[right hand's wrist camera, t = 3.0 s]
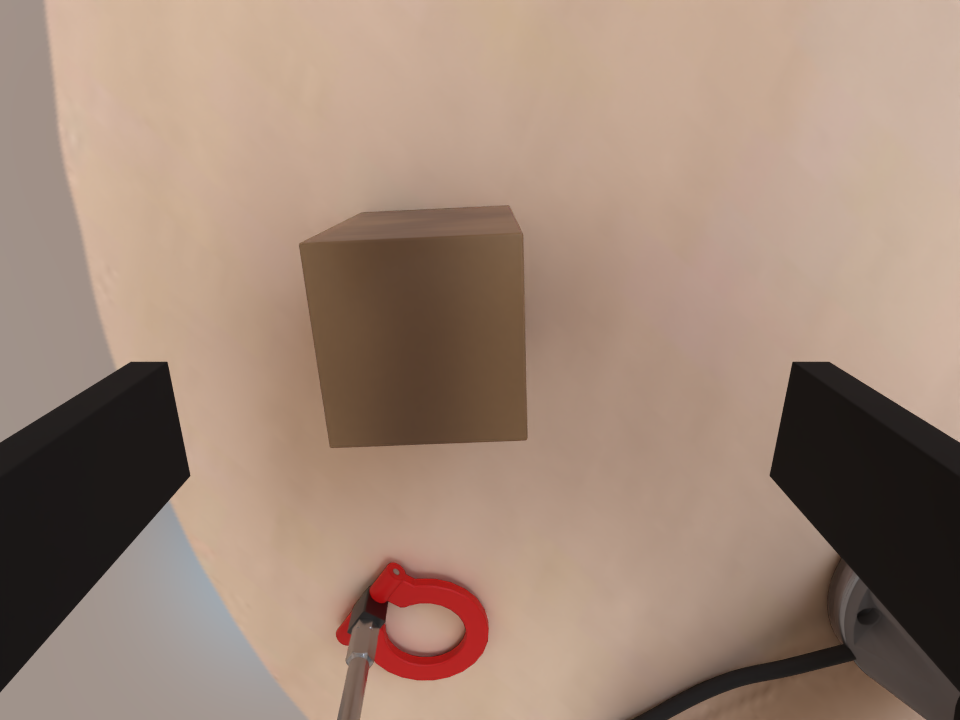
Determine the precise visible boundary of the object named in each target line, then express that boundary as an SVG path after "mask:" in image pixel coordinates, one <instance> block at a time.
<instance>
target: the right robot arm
mask: <svg viewBox="0 0 960 720" xmlns="http://www.w3.org/2000/svg"><path fill="white" fill-rule="evenodd" d="M189 477H190V471H189V467H188V462H187V457H186V452H185V447H184V442H183V437H182V432H181V427H180V422H179V417H178V412H177V407H176V402H175V397H174V392H173V387H172V382H171V377H170V372H169V367H168V363H167V362H130V363H128V364H127V365H125V366H123V367H122V368H120V369H119V370H117V371H115V372H114V373H112V374H110V375H109V376H107V377H106V378H104V379H102V380H101V381H99V382H98V383H96V384H94V385H93V386H91V387H89V388H88V389H86V390H85V391H83V392H81V393H80V394H78V395H76V396H75V397H73V398H72V399H70V400H68V401H67V402H65V403H64V404H62V405H60V406H59V407H57V408H56V409H54V410H52V411H51V412H49V413H47V414H46V415H44V416H43V417H41V418H39V419H38V420H36V421H34V422H33V423H31V424H30V425H28V426H26V427H25V428H23V429H22V430H20V431H18V432H17V433H15V434H13V435H12V436H10V437H9V438H7V439H5V440H4V441H2V442H0V692H1V691H2V690H3V689H4V687H5V686H6V685H7V684H8V683H9V682H10V681H11V679H12V678H13V677H14V676H15V675H16V674H17V673H18V672H19V670H20V669H21V668H22V667H23V666H24V665H25V664H26V662H27V661H28V660H29V659H30V658H31V657H32V656H33V654H34V653H35V652H36V651H37V650H38V649H39V648H40V646H41V645H42V644H43V643H44V642H45V641H46V640H47V638H48V637H49V636H50V635H51V634H52V633H53V632H54V630H55V629H56V628H57V627H58V626H59V625H60V624H61V623H62V621H63V620H64V619H65V618H66V617H67V616H68V615H69V613H70V612H71V611H72V610H73V609H74V608H75V607H76V605H77V604H78V603H79V602H80V601H81V600H82V599H83V597H84V596H85V595H86V594H87V593H88V592H89V591H90V589H91V588H92V587H93V586H94V585H95V584H96V583H97V581H98V580H99V579H100V578H101V577H102V576H103V575H104V574H105V572H106V571H107V570H108V569H109V568H110V567H111V566H112V564H113V563H114V562H115V561H116V560H117V559H118V558H119V556H120V555H121V554H122V553H123V552H124V551H125V550H126V548H127V547H128V546H129V545H130V544H131V543H132V542H133V540H134V539H135V538H136V537H137V536H138V535H139V534H140V532H141V531H142V530H143V529H144V528H145V527H146V526H147V525H148V523H149V522H150V521H151V520H152V519H153V518H154V517H155V515H156V514H157V513H158V512H159V511H160V510H161V509H162V508H163V506H164V505H165V504H166V503H167V502H168V501H169V500H170V498H171V497H172V496H173V495H174V494H175V493H176V492H177V490H178V489H179V488H180V487H181V486H182V485H183V484H184V482H185V481H186V480H187V479H188V478H189ZM770 477H771V478H772V479H773V480H774V481H775V482H776V484H777V485H778V486H779V487H780V488H781V489H782V490H783V492H784V493H785V494H786V495H787V496H788V497H789V498H790V500H791V501H792V502H793V503H794V504H795V505H796V506H797V508H798V509H799V510H800V511H801V512H802V513H803V514H804V516H805V517H806V518H807V519H808V520H809V521H810V522H811V523H812V525H813V526H814V527H815V528H816V529H817V530H818V531H819V533H820V534H821V535H822V536H823V537H824V538H825V539H826V541H827V542H828V543H829V544H830V545H831V546H832V547H833V549H834V550H835V551H836V552H837V553H838V554H839V555H840V556H841V558H842V559H841V560H840V562H839V564H838V566H837V568H836V570H835V572H834V575H833V577H832V580H831V583H830V587H829V592H828V605H827V606H828V615H829V620H830V623H831V626H832V629H833V631H834V633H835V635H836V636H837V638H838V639H839V641H840V642H841V644H842V645H838V646H834V647H831V648H827V649H823V650H819V651H815V652H812V653H808V654H804V655H800V656H796V657H792V658H788V659H784V660H779V661H775V662H770V663H765V664H760V665H754V666H750V667H745V668H741V669H738V670H734V671H731V672H728V673H725V674H722V675H720V676H717V677H714V678H712V679H710V680H707V681H705V682H703V683H700V684H698V685H696V686H694V687H692V688H690V689H688V690H686V691H684V692H682V693H680V694H678V695H676V696H674V697H673V698H671V699H669V700H667V701H665V702H663V703H662V704H660V705H658V706H656V707H654V708H653V709H651V710H649V711H647V712H645V713H644V714H642V715H640V716H638V717H636V718H634V719H632V720H668V719H670V718H671V717H673V716H675V715H677V714H679V713H680V712H682V711H684V710H686V709H688V708H690V707H692V706H694V705H696V704H698V703H700V702H702V701H704V700H707V699H709V698H711V697H713V696H716V695H718V694H721V693H723V692H726V691H729V690H732V689H734V688H737V687H741V686H744V685H748V684H752V683H757V682H762V681H767V680H773V679H778V678H783V677H788V676H793V675H797V674H801V673H805V672H809V671H813V670H817V669H821V668H825V667H829V666H833V665H837V664H841V663H845V662H849V661H853V660H854V661H855V663H856V664H857V665H858V667H859V668H860V669H861V670H862V671H863V672H864V673H866V674H867V675H868V676H869V677H871V678H872V679H874V680H875V681H876V682H877V683H879V684H880V685H881V686H883V687H884V688H885V689H887V690H888V691H889V692H891V693H892V694H893V695H895V696H896V697H897V698H899V699H900V700H901V701H902V702H904V703H905V704H906V705H908V706H909V707H910V708H912V709H913V710H914V711H916V712H917V713H918V714H920V715H921V716H922V717H924V718H925V719H926V720H960V442H958V441H956V440H955V439H953V438H951V437H950V436H948V435H947V434H945V433H943V432H942V431H940V430H938V429H937V428H935V427H934V426H932V425H930V424H929V423H927V422H926V421H924V420H922V419H921V418H919V417H917V416H916V415H914V414H913V413H911V412H909V411H908V410H906V409H905V408H903V407H901V406H900V405H898V404H896V403H895V402H893V401H892V400H890V399H888V398H887V397H885V396H884V395H882V394H880V393H879V392H877V391H875V390H874V389H872V388H871V387H869V386H867V385H866V384H864V383H862V382H861V381H859V380H858V379H856V378H854V377H853V376H851V375H850V374H848V373H846V372H845V371H843V370H841V369H840V368H838V367H837V366H835V365H833V364H832V363H830V362H793V363H792V367H791V372H790V377H789V382H788V387H787V392H786V397H785V402H784V407H783V412H782V417H781V422H780V427H779V432H778V437H777V442H776V447H775V452H774V457H773V462H772V467H771V471H770Z"/></svg>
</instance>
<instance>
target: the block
mask: <svg viewBox="0 0 960 720" xmlns="http://www.w3.org/2000/svg"><path fill="white" fill-rule="evenodd" d="M299 248H300V254H301V261H302V268H303V274H304V281H305V287H306V294H307V300H308V307H309V313H310V320H311V327H312V333H313V340H314V346H315V353H316V359H317V366H318V372H319V379H320V385H321V392H322V399H323V405H324V412H325V418H326V425H327V431H328V438H329V444H330V447H331V448H343V447H368V446H394V445H419V444H445V443H470V442H496V441H521V440H527V393H526V346H525V300H524V253H523V234H522V231H521V229H520V227H519V225H518V223H517V221H516V219H515V217H514V215H513V212H512V210H511V208H510V206H489V207H468V208H447V209H426V210H405V211H385V212H364V213H360V214H358V215H356V216H354V217H352V218H350V219H348V220H346V221H344V222H342V223H340V224H338V225H336V226H334V227H332V228H330V229H328V230H326V231H324V232H322V233H320V234H318V235H316V236H314V237H312V238H310V239H308V240H306V241H304V242H302V243H300V244H299Z"/></svg>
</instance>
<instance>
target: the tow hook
mask: <svg viewBox="0 0 960 720" xmlns="http://www.w3.org/2000/svg"><path fill="white" fill-rule="evenodd" d="M388 602H390V603H392V604H394V605H397V606H399V607H407V606H409V605H414V604H419V603H431V604H436V605H441V606H443V607H446V608H448V609H450V610H452V611H453V612H454V613H456V614H457V615H458V616H459V617H460V619H461V620H462V621H463V623H464V625H465V629H466V633H465V635H464V638H463V640H462V641H461V642H460V643H459V645H458V646H457V647H455V648H454V649H453V650H451V651H450V652H447V653H445V654H442V655H439V656H434V657H418V656H413V655H409V654H407V653H405V652H402V651H401V650H399V649H398V648H397V647H395V646H394V645H393V644H392V642H391V641H390V640H389V638H388V636H387V633H386V625H385V624H384V623H385V620H386V613H387V607H388ZM488 629H489V628H488V619H487V616H486V613H485V609H484V608H483V606H482V605H481V604H480V602H479V601H478V599H477V598H476V597H475V596H473V595H472V594H471V593H470V592H468V591H467V590H466V589H464V588H462V587H460V586H458V585H456V584H454V583H451V582H447V581H443V580H438V579H414V578H412V577H410V576H408V575H406V574H405V571H404V569H403V568H402V567H401V566H400V565H398V564H396V563H389V564H388V565H387V567H386V568H385V569H384V571H383V572H382V573H381V574H380V576H379V577H378V578H377V579H376V581H375V582H374V583H373V585H371V586H369V587H368V589H367V590H366V591H365V592H364V594H363V595H362V596H361V597H360V599H359V600H358V601H357V603H356V604H355V605H354V607H353V609H352V611H351V613H350V614H349V615H348V617H347V618H346V619H345V620H344V622H343V623H342V624H341V626H340V627H339V628H338V629H337V631H336V637H337V639H338V641H339V642H340V643H341V644H343V645H346V646H349V647H348V651H347V656H346V663H347V665H348V671H347V675H346V680H345V685H344V690H343V694H342V699H341V704H340V709H339V713H338V718H337V720H360V717H361V711H362V705H363V699H364V693H365V688H366V682H367V676H368V670H369V668H370V667H371V666H372V664H373V663H374V661H375V662H376V663H377V664H378V665H379V666H381V667H382V668H384V669H385V670H386V671H388V672H390V673H393V674H395V675H398V676H400V677H403V678H408V679H414V680H437V679H442V678H447V677H451V676H453V675H455V674H458V673H460V672H463V671H464V670H466V669H467V668H468V667H470V666H471V665H473V664H474V663H475V662H476V661H477V659H478V658H479V657H480V656H481V655H482V653H483V652H484V649H485V647H486V644H487V642H488Z"/></svg>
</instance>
